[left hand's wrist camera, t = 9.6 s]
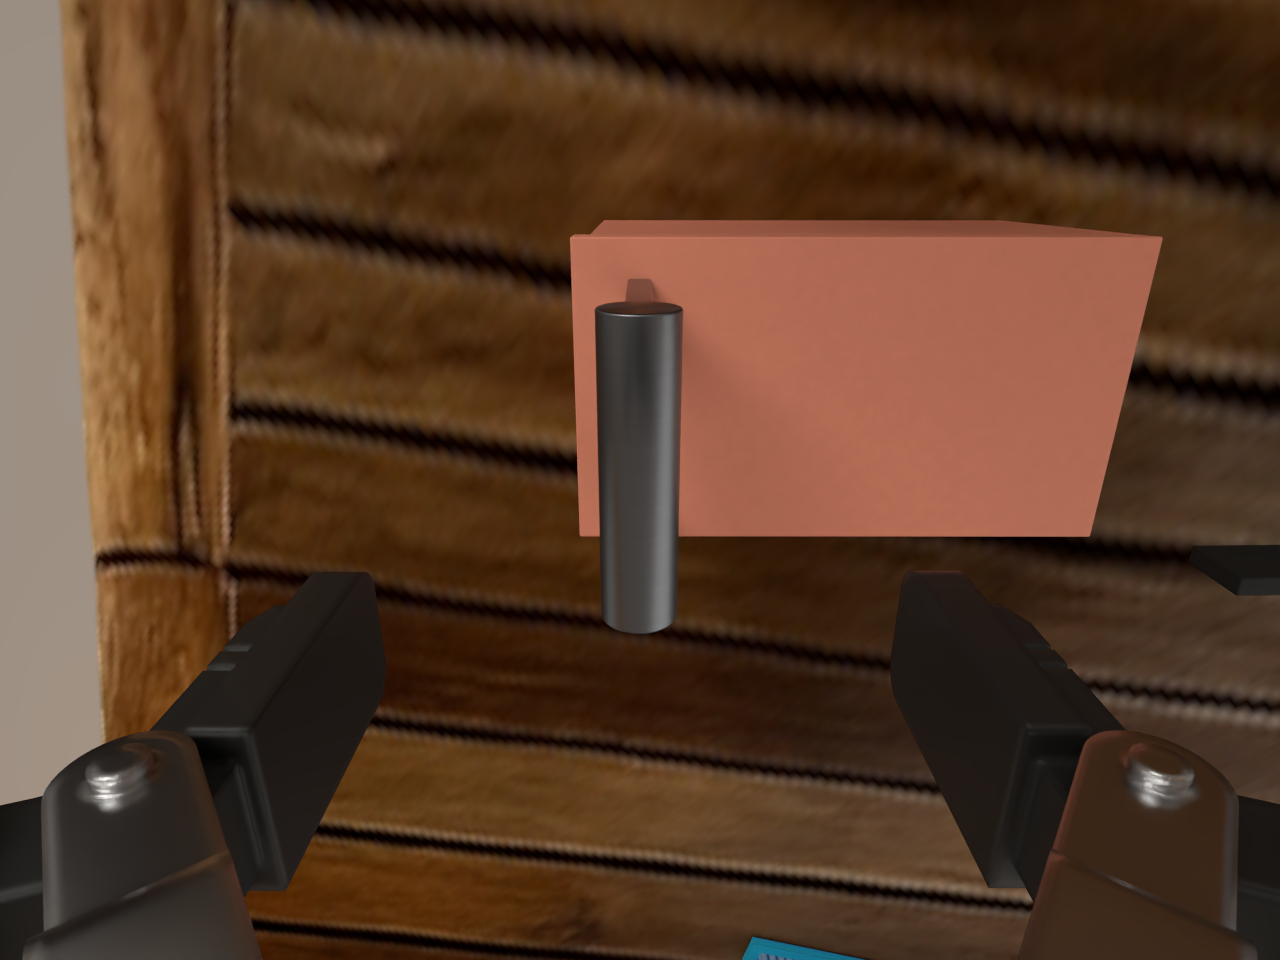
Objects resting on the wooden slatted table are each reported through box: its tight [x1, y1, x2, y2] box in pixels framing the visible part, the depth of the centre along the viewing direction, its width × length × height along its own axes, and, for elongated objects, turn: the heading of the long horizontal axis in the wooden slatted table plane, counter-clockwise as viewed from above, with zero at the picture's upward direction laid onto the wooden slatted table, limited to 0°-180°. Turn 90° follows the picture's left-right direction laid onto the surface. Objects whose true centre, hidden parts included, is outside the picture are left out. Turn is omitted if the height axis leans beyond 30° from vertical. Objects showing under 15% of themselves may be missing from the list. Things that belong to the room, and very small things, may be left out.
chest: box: [590, 220, 1134, 235], centre depth 29 cm, size 17×10×9 cm, turn 90°
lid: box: [570, 235, 1163, 634], centre depth 21 cm, size 17×10×9 cm, turn 90°
